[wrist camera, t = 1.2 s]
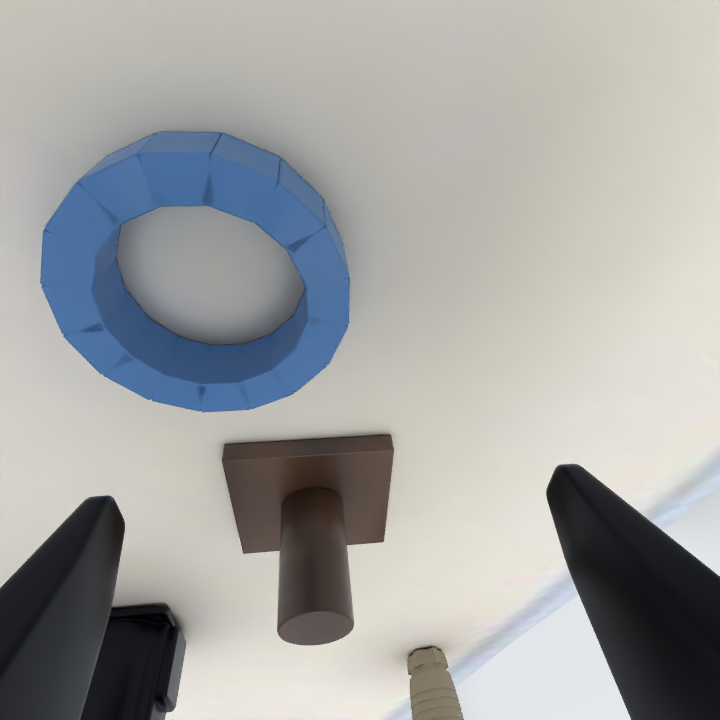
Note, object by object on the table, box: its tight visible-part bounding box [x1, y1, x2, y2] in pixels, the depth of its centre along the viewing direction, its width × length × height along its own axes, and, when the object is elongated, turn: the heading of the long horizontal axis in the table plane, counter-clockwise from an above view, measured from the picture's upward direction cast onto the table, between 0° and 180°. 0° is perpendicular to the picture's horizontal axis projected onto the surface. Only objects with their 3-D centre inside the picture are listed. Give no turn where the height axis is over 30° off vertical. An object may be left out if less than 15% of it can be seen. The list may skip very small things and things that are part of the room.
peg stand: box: [222, 435, 394, 645], centre depth 22 cm, size 8×8×7 cm
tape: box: [40, 132, 350, 412], centre depth 16 cm, size 9×9×2 cm
